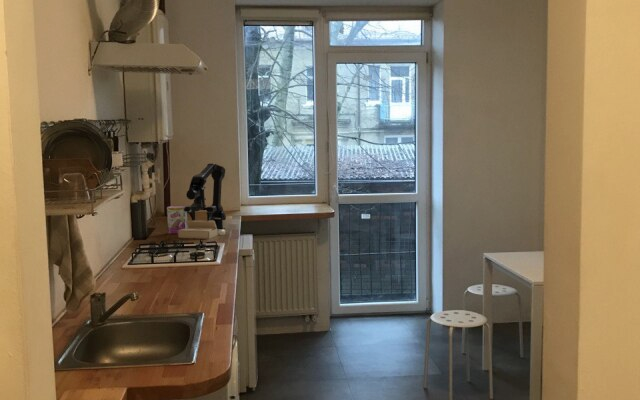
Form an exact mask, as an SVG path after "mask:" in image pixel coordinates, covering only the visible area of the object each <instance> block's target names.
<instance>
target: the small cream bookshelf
mask: <svg viewBox="0 0 640 400" xmlns="http://www.w3.org/2000/svg"><path fill="white" fill-rule="evenodd" d="M218 236H219V235H218V229H214V228H188V227H187V228H186V229H181V230H179V231H178V234H177V238H178V239H193V238H195V239H200V240H201V239H202V240H203V239H204V240H209V239H213V238H215V237H218ZM195 239H194V240H195Z"/></svg>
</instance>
